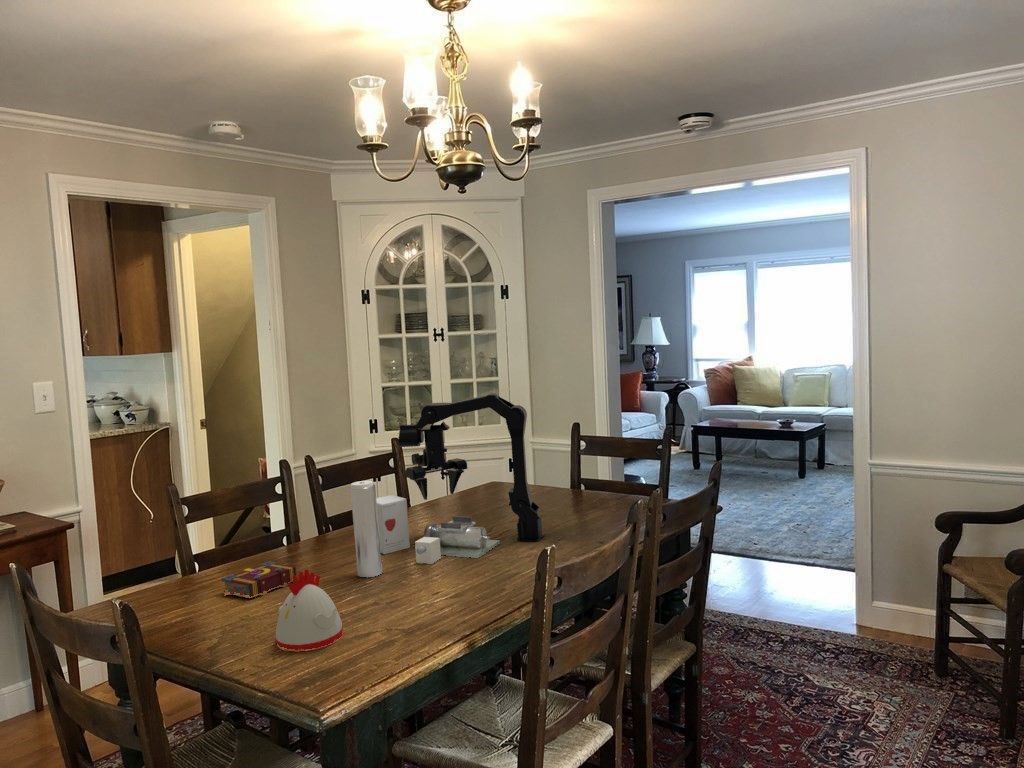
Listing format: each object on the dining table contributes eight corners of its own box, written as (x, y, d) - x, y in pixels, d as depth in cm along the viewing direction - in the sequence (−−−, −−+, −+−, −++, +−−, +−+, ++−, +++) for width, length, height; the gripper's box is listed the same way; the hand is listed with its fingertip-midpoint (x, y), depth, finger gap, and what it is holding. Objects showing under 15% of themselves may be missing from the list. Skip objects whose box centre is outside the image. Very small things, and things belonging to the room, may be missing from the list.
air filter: (377, 578, 205) (369, 484, 203) (353, 578, 206) (345, 485, 204) (385, 570, 211) (378, 479, 209) (363, 570, 212) (355, 479, 210)
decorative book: (298, 582, 206) (296, 564, 206) (247, 603, 193) (245, 583, 193) (269, 577, 213) (268, 559, 212) (219, 596, 199) (217, 577, 199)
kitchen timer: (262, 645, 166) (255, 576, 164) (312, 622, 177) (306, 557, 176) (307, 657, 158) (300, 585, 157) (356, 632, 169) (350, 564, 168)
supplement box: (384, 555, 226) (380, 504, 224) (369, 549, 232) (365, 500, 231) (411, 547, 231) (407, 498, 230) (395, 542, 238) (391, 494, 237)
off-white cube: (441, 558, 218) (439, 537, 218) (428, 566, 212) (426, 545, 212) (425, 557, 220) (424, 536, 220) (412, 565, 214) (411, 543, 214)
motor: (500, 543, 229) (498, 515, 228) (479, 558, 216) (477, 528, 216) (440, 540, 237) (438, 512, 237) (416, 553, 225) (414, 524, 224)
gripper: (447, 438, 245) (451, 487, 247) (394, 447, 234) (398, 498, 236) (466, 441, 236) (470, 492, 238) (412, 451, 225) (416, 504, 227)
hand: (438, 496), depth 235 cm, fingers open, 9 cm apart
